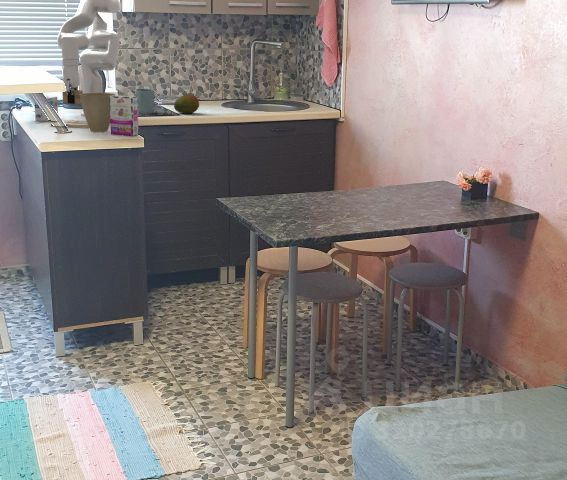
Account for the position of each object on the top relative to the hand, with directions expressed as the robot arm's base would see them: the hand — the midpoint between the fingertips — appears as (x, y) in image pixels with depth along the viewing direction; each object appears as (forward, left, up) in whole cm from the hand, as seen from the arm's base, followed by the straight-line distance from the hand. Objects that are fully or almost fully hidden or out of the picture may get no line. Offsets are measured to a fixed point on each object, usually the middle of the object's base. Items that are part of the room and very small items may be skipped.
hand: (73, 102), depth 376 cm
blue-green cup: (-44, +24, -9) cm, 51 cm away
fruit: (-48, +45, -9) cm, 66 cm away
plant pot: (+28, +20, -9) cm, 36 cm away
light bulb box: (-1, -13, -9) cm, 16 cm away
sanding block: (0, 0, -1) cm, 1 cm away
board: (+14, +5, -9) cm, 17 cm away
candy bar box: (+36, +33, -9) cm, 50 cm away
